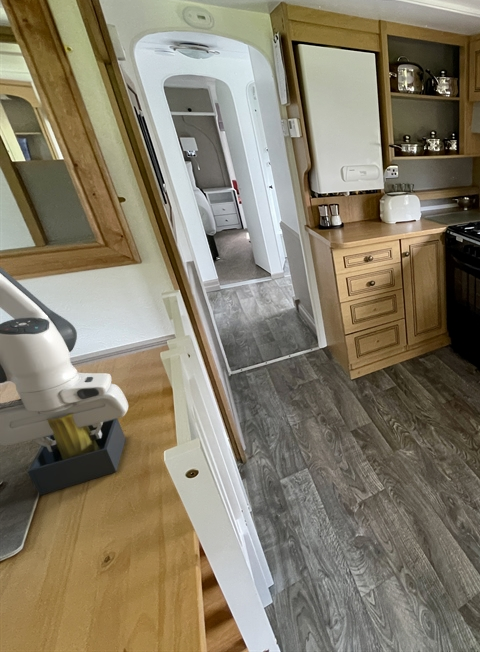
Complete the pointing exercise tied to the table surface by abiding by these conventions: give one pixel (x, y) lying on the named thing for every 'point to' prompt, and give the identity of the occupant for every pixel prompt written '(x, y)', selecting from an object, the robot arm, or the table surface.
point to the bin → (78, 461)
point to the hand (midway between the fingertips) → (77, 443)
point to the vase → (71, 437)
